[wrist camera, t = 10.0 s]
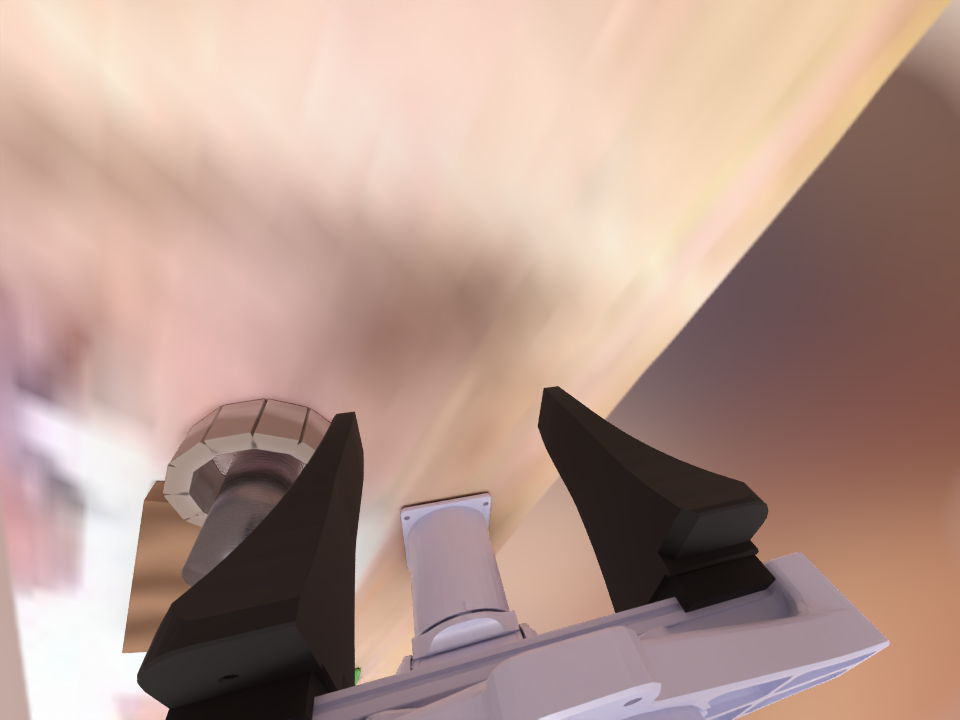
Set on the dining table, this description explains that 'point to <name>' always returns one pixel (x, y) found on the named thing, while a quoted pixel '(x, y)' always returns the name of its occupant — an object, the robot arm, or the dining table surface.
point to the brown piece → (202, 499)
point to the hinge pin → (240, 506)
